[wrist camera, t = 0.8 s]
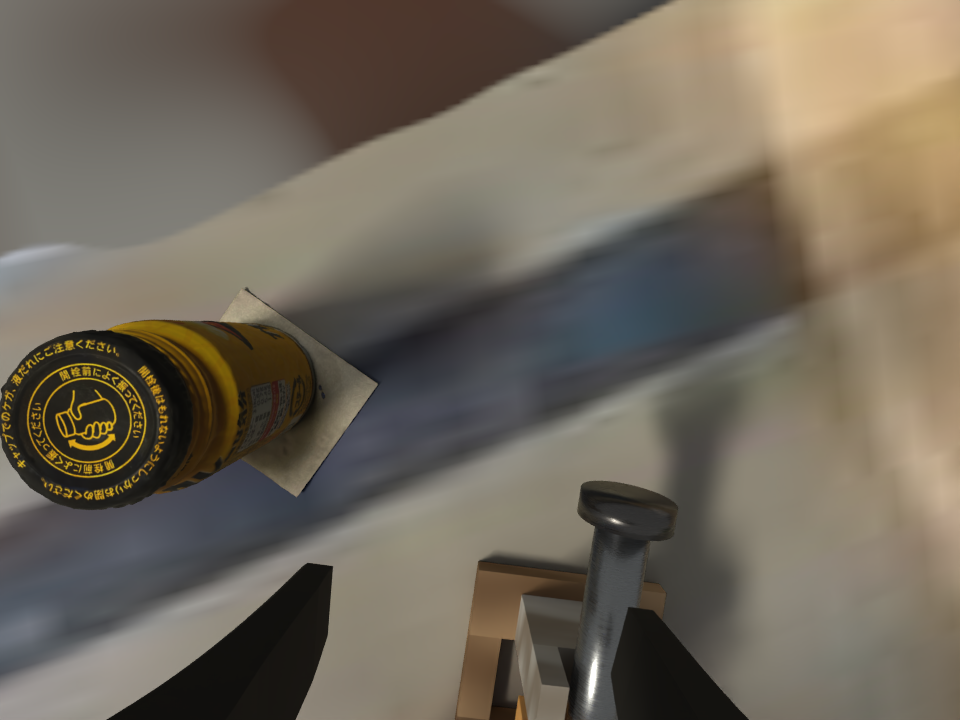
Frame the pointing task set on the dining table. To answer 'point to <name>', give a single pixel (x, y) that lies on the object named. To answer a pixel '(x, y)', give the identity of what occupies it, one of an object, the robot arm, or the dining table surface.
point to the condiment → (175, 406)
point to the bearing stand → (527, 637)
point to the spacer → (521, 709)
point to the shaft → (612, 585)
